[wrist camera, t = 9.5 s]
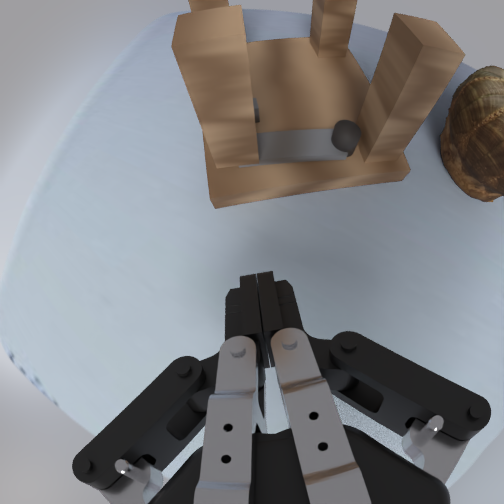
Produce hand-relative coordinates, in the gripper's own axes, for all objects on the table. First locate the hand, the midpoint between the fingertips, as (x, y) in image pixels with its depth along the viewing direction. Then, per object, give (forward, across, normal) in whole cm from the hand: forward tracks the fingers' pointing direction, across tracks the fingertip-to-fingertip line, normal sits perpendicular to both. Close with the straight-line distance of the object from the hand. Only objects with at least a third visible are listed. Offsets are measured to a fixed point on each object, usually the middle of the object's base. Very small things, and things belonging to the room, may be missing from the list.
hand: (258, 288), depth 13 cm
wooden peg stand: (+17, -5, -6) cm, 19 cm away
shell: (+12, -22, 0) cm, 25 cm away
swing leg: (+11, -4, -3) cm, 12 cm away
